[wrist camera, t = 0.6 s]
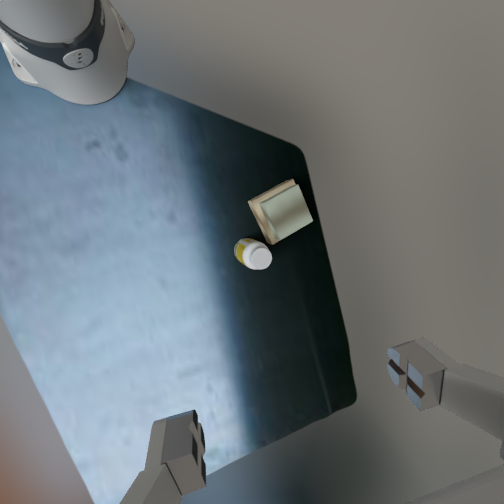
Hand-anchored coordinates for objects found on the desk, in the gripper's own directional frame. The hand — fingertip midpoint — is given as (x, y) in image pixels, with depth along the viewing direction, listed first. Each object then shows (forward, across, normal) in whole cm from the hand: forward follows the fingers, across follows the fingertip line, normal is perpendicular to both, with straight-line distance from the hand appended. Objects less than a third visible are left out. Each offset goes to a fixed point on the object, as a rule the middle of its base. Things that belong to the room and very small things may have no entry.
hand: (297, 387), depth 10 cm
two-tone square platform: (+46, -12, +5) cm, 48 cm away
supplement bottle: (+44, -4, +11) cm, 46 cm away
